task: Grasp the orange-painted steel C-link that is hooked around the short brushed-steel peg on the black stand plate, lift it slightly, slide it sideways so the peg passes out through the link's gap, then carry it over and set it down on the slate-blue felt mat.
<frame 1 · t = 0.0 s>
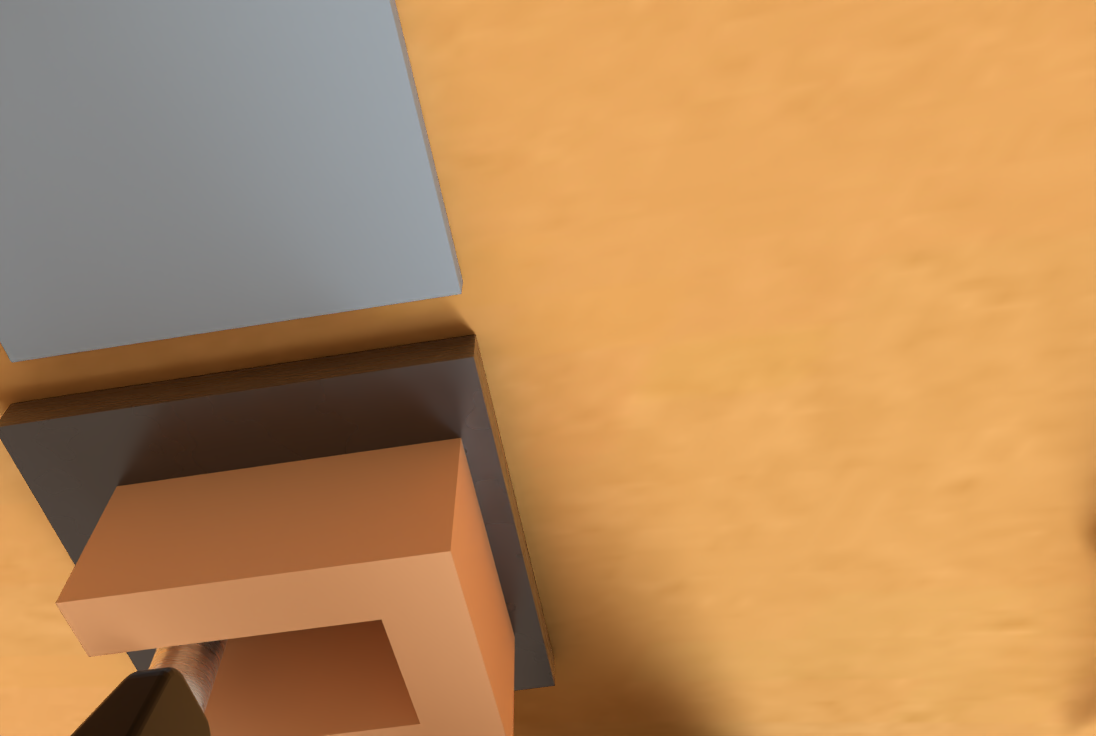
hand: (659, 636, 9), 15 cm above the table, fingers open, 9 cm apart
peg stand: (309, 544, 28), on the table
c link: (327, 566, 27), point 1 cm above the table, touching peg stand
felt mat: (169, 138, 22), on the table
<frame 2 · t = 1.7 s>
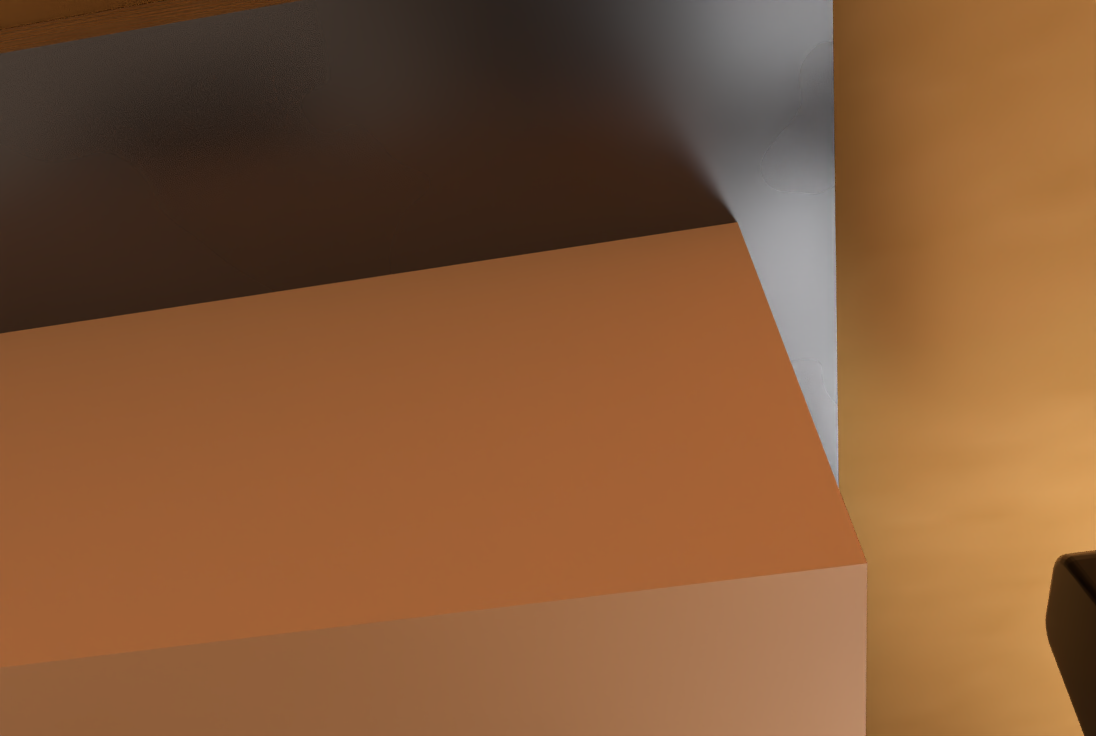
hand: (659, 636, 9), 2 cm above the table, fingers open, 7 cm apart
peg stand: (291, 544, 12), on the table
c link: (335, 601, 11), point 1 cm above the table, touching peg stand
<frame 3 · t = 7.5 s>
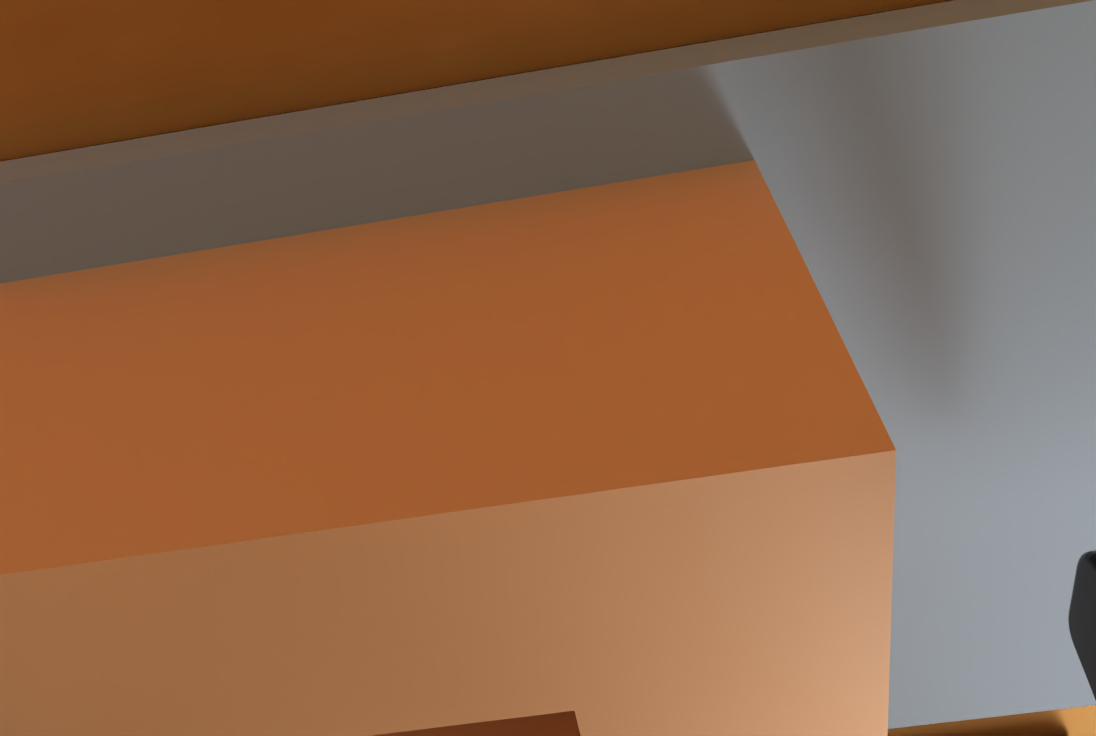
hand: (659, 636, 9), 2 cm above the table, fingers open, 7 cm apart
c link: (361, 541, 11), point 1 cm above the table, touching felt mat
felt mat: (631, 461, 11), on the table
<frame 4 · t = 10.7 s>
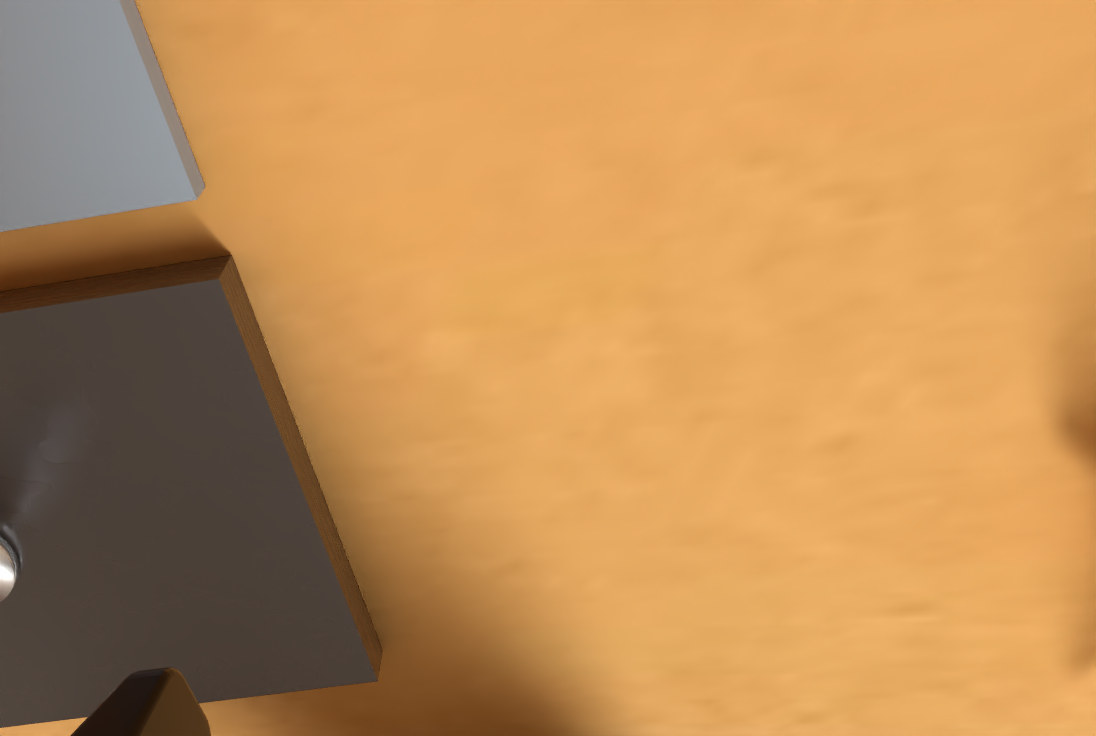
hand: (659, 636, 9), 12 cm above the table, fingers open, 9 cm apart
peg stand: (74, 514, 24), on the table
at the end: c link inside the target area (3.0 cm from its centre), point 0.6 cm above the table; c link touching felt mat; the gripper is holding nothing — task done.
